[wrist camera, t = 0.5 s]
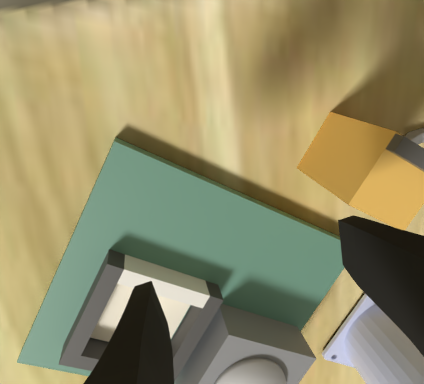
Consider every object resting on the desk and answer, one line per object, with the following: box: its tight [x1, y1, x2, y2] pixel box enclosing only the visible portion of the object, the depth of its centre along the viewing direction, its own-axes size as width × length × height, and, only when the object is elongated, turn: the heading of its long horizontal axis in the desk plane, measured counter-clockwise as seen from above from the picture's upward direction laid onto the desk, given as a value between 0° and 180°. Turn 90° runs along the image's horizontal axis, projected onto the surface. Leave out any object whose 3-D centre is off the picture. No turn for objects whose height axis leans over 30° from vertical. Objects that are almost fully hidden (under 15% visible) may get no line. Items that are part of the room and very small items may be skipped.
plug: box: [297, 112, 424, 230], centre depth 19 cm, size 4×4×7 cm
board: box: [17, 137, 344, 384], centre depth 22 cm, size 18×16×4 cm
